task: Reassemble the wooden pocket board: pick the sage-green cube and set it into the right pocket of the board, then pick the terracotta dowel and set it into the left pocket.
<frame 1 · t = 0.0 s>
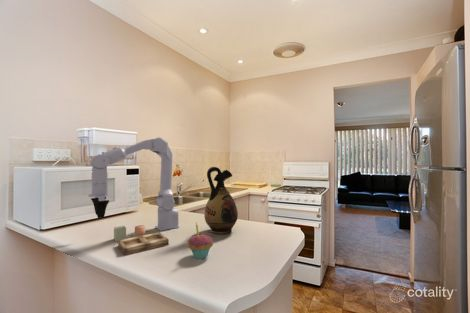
hand: (99, 215, 96), 10 cm above the countertop, fingers open, 7 cm apart
ceramic jug: (219, 231, 107), on the countertop
cupcake: (200, 256, 80), on the countertop
pocket board: (143, 245, 90), on the countertop
terracotta dowel: (139, 238, 98), on the countertop
sage cube: (119, 239, 97), on the countertop
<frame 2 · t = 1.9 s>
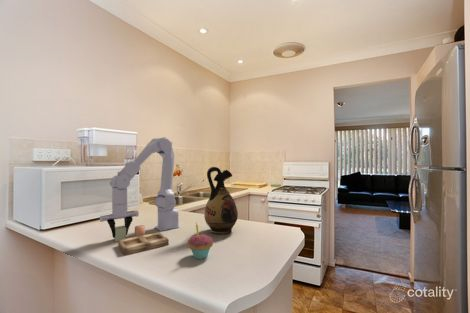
hand: (119, 235, 97), 1 cm above the countertop, fingers closed on sage cube, 4 cm apart
sage cube: (119, 239, 97), on the countertop, touching gripper
everything else where it was.
when the fingers open (4 cm above the countertop, at t = 4.7 s): sage cube stays where it is, resting on pocket board.
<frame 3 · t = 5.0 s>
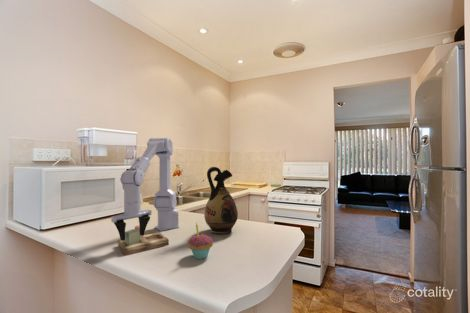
hand: (132, 237, 88), 4 cm above the countertop, fingers open, 7 cm apart
sage cube: (132, 244, 88), point 1 cm above the countertop, touching pocket board
everything else where it was.
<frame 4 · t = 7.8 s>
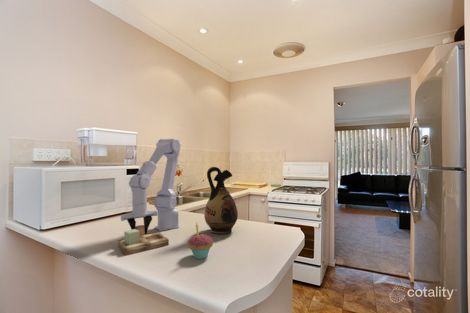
hand: (139, 234, 98), 1 cm above the countertop, fingers closed on terracotta dowel, 4 cm apart
terracotta dowel: (139, 238, 98), on the countertop, touching gripper
everything else where it was.
when the fingers open (4 cm above the countertop, at t = 10.3 s): terracotta dowel stays where it is, resting on pocket board.
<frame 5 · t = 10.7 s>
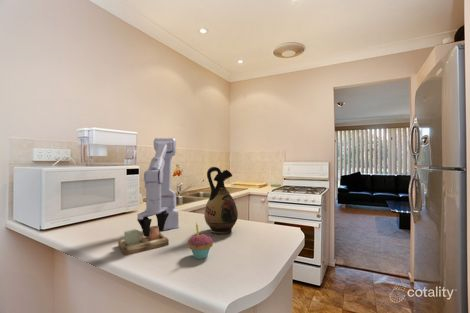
hand: (153, 233, 92), 4 cm above the countertop, fingers open, 7 cm apart
terracotta dowel: (153, 239, 93), point 1 cm above the countertop, touching pocket board
everything else where it was.
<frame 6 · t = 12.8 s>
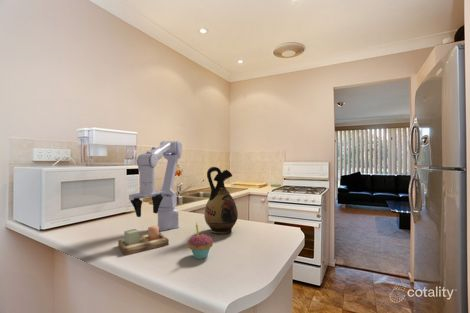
hand: (147, 214, 96), 10 cm above the countertop, fingers open, 7 cm apart
nothing on the countertop moved.
at the end: sage cube 0.4 cm from the target spot on the pocket board, point 1.2 cm above the pocket board's base; terracotta dowel 0.2 cm from the target spot on the pocket board, point 1.2 cm above the pocket board's base; terracotta dowel tilted 0° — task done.
